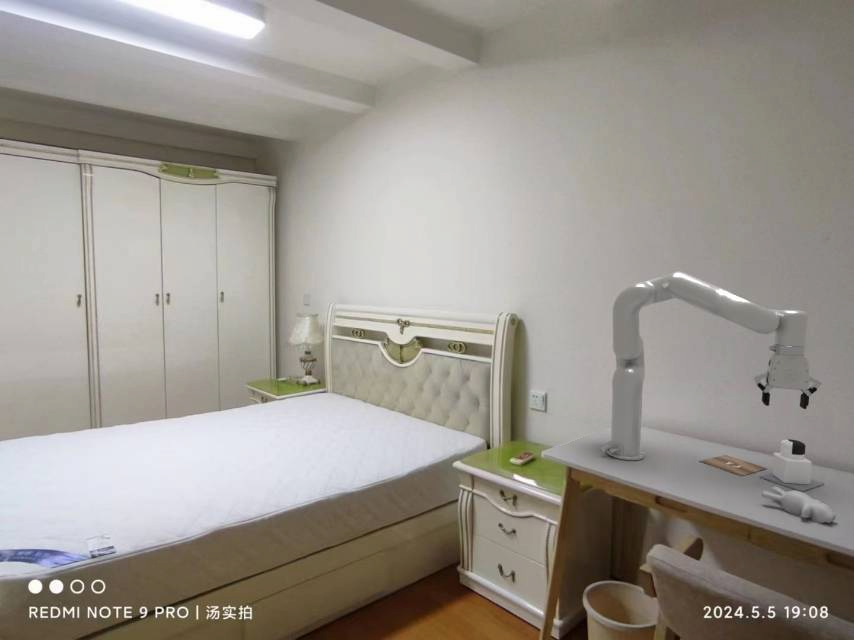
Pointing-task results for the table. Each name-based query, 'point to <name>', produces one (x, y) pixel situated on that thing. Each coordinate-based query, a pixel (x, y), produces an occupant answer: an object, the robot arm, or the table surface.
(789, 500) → the bunny figurine
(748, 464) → the tile
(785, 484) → the grey mat
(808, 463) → the medicine bottle
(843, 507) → the table surface
